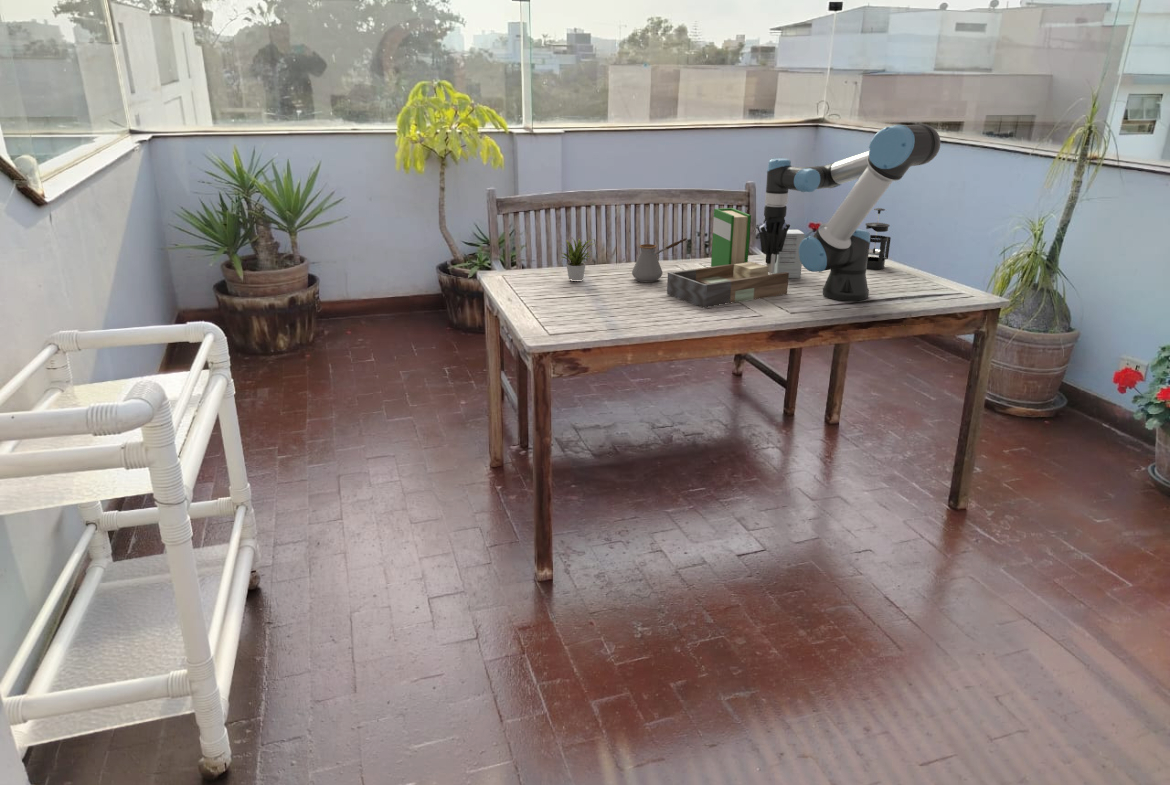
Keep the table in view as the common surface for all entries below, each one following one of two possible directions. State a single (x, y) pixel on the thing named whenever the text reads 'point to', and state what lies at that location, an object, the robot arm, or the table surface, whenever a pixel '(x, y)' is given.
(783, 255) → the supplement box
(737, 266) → the birch block
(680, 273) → the tray
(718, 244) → the hardback book
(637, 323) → the table surface
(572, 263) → the house plant
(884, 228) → the french press
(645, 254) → the coffee pot
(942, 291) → the table surface
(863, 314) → the table surface
